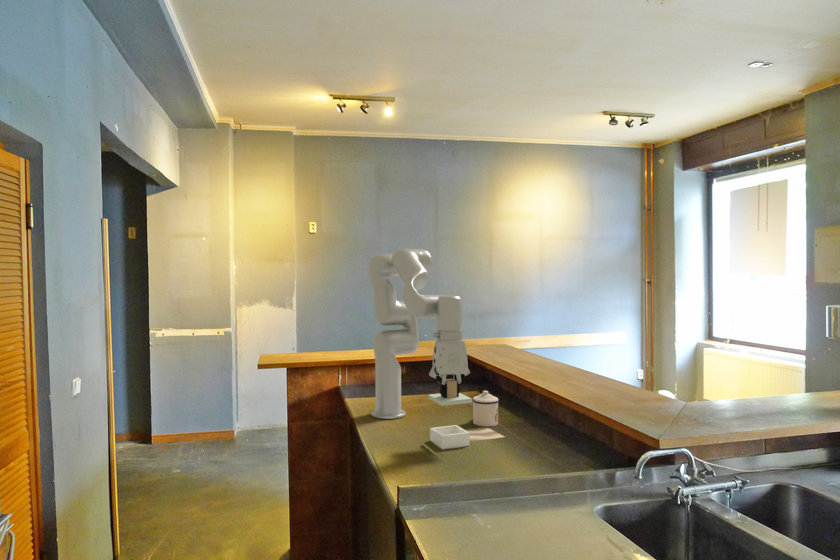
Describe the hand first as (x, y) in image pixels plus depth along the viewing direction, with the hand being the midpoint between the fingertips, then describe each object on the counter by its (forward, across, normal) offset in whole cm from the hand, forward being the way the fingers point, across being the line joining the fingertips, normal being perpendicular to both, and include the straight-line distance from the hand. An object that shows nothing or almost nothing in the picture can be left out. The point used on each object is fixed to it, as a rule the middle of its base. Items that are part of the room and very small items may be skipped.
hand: (449, 395), depth 157 cm
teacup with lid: (+15, +22, +17) cm, 32 cm away
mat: (+15, +13, +5) cm, 21 cm away
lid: (+1, 0, 0) cm, 1 cm away
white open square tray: (+15, 0, 0) cm, 15 cm away
